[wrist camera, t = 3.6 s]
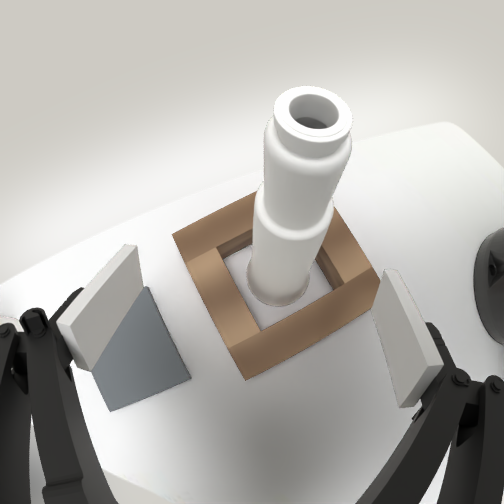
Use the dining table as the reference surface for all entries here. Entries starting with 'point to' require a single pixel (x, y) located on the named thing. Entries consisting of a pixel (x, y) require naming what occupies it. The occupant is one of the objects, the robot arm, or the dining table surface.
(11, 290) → the dining table surface
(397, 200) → the dining table surface
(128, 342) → the mat
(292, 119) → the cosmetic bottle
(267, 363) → the collar
